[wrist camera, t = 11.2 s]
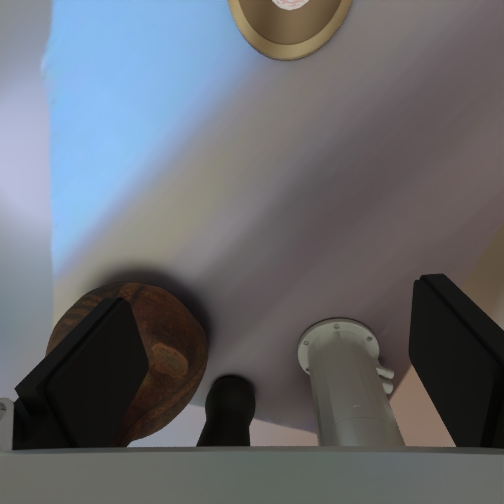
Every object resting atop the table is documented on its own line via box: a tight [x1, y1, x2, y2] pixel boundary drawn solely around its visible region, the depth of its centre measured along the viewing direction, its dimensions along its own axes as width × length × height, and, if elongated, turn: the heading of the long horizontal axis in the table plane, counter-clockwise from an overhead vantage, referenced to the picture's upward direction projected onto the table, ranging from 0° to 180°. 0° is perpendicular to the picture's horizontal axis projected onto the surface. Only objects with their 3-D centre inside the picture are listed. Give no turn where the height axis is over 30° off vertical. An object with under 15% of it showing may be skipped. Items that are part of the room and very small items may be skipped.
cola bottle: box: [196, 377, 256, 447], centre depth 42 cm, size 8×8×30 cm
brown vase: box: [45, 282, 208, 448], centre depth 37 cm, size 22×22×30 cm
